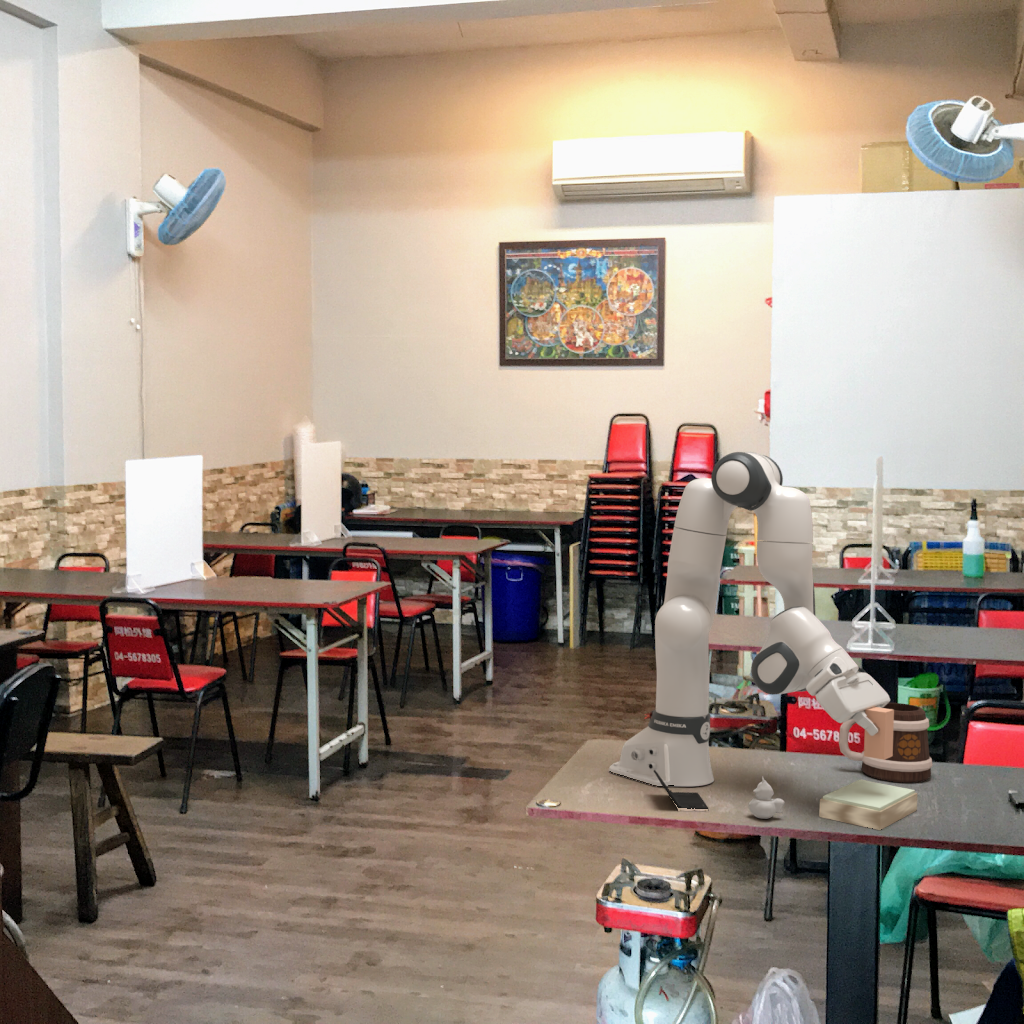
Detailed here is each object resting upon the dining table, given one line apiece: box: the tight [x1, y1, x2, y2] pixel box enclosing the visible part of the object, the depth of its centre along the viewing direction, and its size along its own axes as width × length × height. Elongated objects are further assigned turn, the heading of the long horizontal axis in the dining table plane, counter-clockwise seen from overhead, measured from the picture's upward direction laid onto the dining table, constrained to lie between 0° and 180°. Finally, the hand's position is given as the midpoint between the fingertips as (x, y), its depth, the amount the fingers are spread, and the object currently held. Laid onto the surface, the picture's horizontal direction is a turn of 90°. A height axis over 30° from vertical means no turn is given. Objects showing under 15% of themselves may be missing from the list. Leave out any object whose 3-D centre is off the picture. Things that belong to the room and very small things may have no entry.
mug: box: [838, 702, 934, 784], centre depth 261 cm, size 20×15×15 cm
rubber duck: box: [748, 775, 786, 820], centre depth 226 cm, size 5×7×8 cm
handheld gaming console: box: [654, 770, 709, 810], centre depth 234 cm, size 12×7×10 cm
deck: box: [818, 778, 918, 831], centre depth 231 cm, size 12×18×4 cm, turn 140°
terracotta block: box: [863, 707, 894, 760], centre depth 229 cm, size 4×4×9 cm
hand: (882, 731), depth 229 cm, fingers closed on terracotta block, 4 cm apart
